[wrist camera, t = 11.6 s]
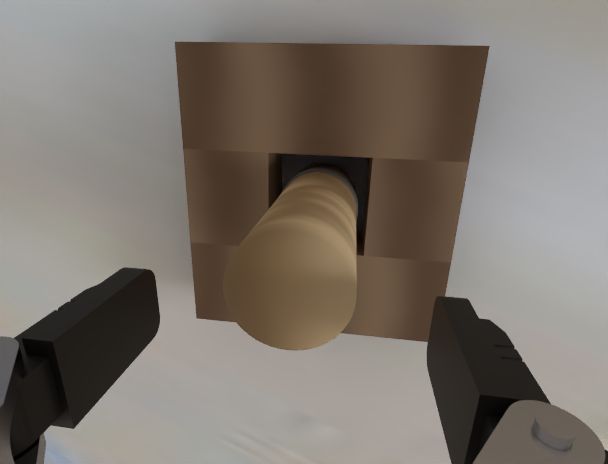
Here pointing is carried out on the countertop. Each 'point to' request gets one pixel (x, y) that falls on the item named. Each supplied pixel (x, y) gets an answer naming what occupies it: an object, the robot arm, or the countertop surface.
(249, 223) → the walnut board
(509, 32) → the countertop surface
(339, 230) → the oak peg
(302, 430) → the countertop surface
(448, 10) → the countertop surface
